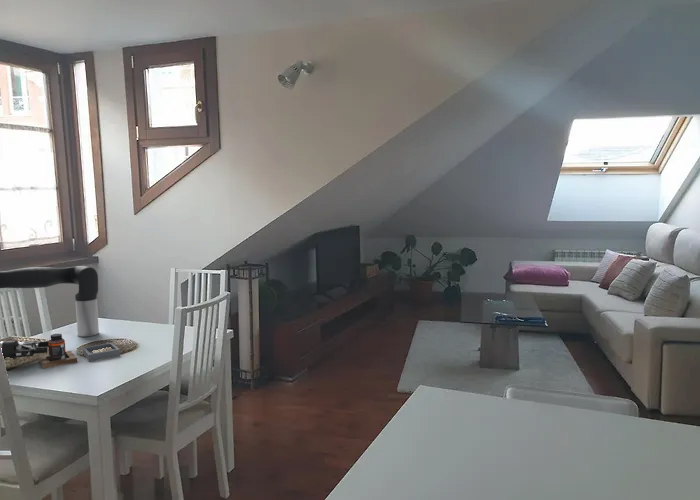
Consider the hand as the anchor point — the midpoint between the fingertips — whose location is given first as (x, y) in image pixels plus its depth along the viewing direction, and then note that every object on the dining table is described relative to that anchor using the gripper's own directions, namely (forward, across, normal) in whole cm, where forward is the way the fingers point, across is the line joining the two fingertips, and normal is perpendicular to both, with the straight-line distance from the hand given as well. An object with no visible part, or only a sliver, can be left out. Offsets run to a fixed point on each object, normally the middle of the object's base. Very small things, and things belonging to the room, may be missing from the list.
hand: (49, 346), depth 213 cm
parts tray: (+18, +4, +7) cm, 20 cm away
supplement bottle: (+3, 0, +7) cm, 7 cm away
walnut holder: (+3, 0, +6) cm, 7 cm away
